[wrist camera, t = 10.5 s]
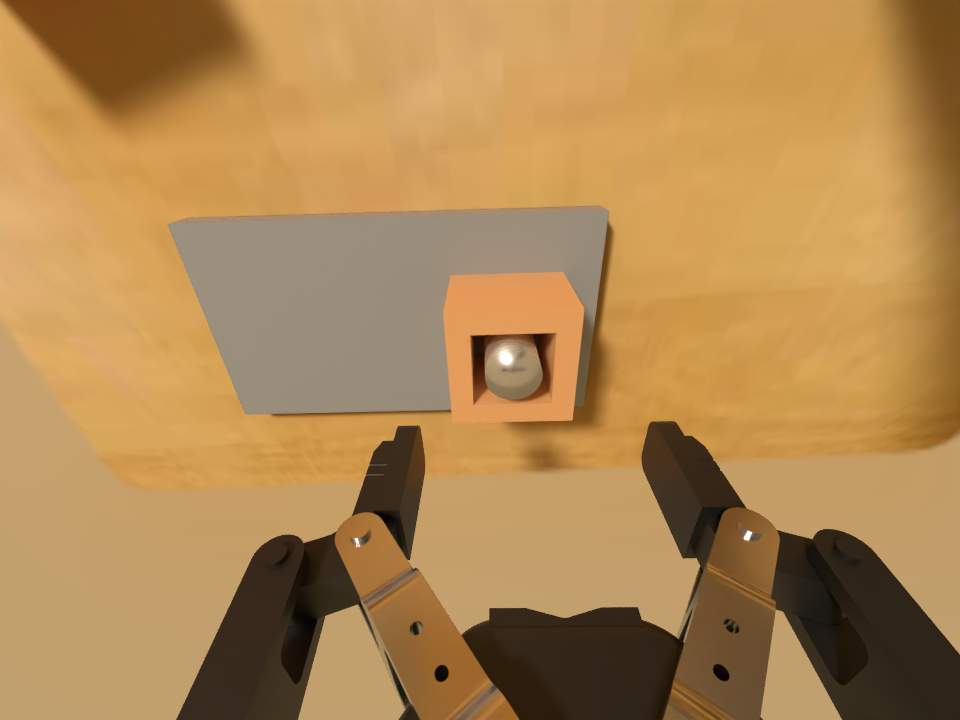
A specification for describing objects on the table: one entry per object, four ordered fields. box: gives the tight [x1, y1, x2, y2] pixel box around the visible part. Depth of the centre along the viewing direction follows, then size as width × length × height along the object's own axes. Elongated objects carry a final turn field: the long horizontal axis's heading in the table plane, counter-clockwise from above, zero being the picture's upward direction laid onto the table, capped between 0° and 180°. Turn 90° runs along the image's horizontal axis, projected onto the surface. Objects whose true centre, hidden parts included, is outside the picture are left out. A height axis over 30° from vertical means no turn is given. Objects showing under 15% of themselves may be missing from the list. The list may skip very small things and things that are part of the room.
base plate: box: [168, 206, 609, 414], centre depth 23 cm, size 12×22×2 cm, turn 92°
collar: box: [443, 272, 584, 423], centre depth 21 cm, size 6×6×5 cm
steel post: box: [484, 334, 543, 400], centre depth 21 cm, size 3×3×7 cm
